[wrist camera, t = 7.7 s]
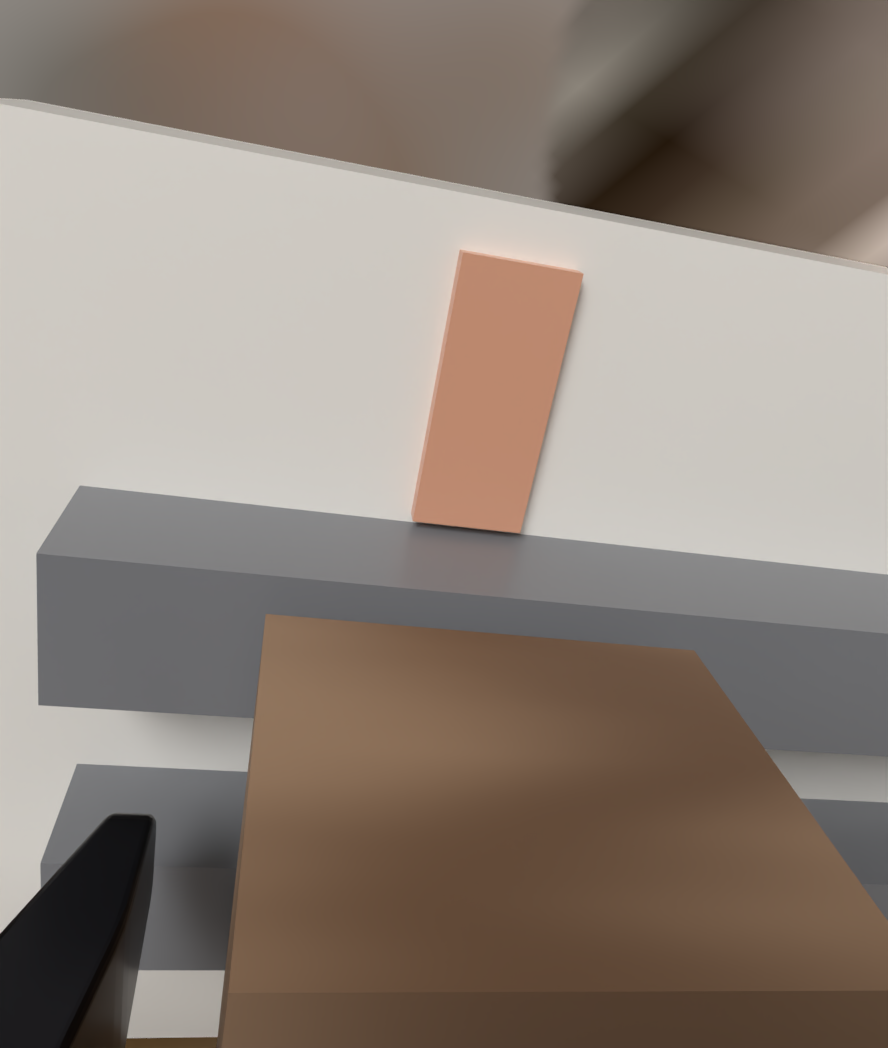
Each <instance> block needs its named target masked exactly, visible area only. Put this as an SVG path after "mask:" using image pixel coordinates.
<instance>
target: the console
mask: <svg viewBox="0 0 888 1048" xmlns="http://www.w3.org/2000/svg"><path fill="white" fill-rule="evenodd" d="M266 614H273V615H284V616H296V617H308V618H320V619H331V620H343V621H355V622H367V623H378V624H390V625H402V626H414V627H425V628H437V629H449V630H461V631H472V632H484V633H496V634H508V635H519V636H531V637H543V638H555V639H566V640H578V641H590V642H602V643H613V644H625V645H637V646H649V647H660V648H672V649H684V650H694V651H695V652H696V654H697V655H698V656H699V658H700V659H701V661H702V662H703V663H704V665H705V666H706V668H707V669H708V670H709V672H710V673H711V675H712V676H713V677H714V679H715V680H716V682H717V683H718V684H719V686H720V687H721V689H722V690H723V691H724V693H725V694H726V696H727V697H728V698H729V700H730V701H731V703H732V704H733V705H734V707H735V708H736V710H737V711H738V712H739V714H740V715H741V717H742V718H743V719H744V721H745V722H746V724H747V725H748V726H749V728H750V729H751V731H752V732H753V733H754V735H755V736H756V738H757V739H758V740H759V742H760V743H761V744H762V746H763V747H764V749H765V750H766V751H767V753H768V754H769V756H770V757H771V758H772V760H773V761H774V763H775V764H776V765H777V767H778V768H779V770H780V771H781V772H782V774H783V775H784V777H785V778H786V779H787V781H788V782H789V784H790V785H791V786H792V788H793V789H794V791H795V792H796V793H797V795H798V796H799V798H800V799H801V800H802V802H803V803H804V805H805V806H806V807H807V809H808V810H809V812H810V813H811V814H812V816H813V817H814V819H815V820H816V821H817V823H818V824H819V826H820V827H821V828H822V830H823V831H824V833H825V834H826V835H827V837H828V838H829V840H830V841H831V842H832V844H833V845H834V847H835V848H836V849H837V851H838V852H839V854H840V855H841V856H842V858H843V859H844V861H845V862H846V863H847V865H848V866H849V868H850V869H851V870H852V872H853V873H854V875H855V876H856V877H857V879H858V880H859V882H860V883H861V884H862V886H863V887H864V889H865V890H866V891H867V893H868V894H869V896H870V897H871V898H872V900H873V901H874V903H875V904H876V905H877V907H878V908H879V910H880V911H881V912H882V914H883V915H884V917H885V918H886V919H887V921H888V267H884V266H879V265H874V264H868V263H863V262H858V261H853V260H848V259H843V258H838V257H832V256H827V255H822V254H817V253H812V252H807V251H802V250H797V249H791V248H786V247H781V246H776V245H771V244H766V243H761V242H755V241H750V240H745V239H740V238H735V237H730V236H725V235H720V234H714V233H709V232H704V231H699V230H694V229H689V228H684V227H678V226H673V225H668V224H663V223H658V222H653V221H648V220H642V219H637V218H632V217H627V216H622V215H617V214H612V213H607V212H601V211H596V210H591V209H586V208H581V207H576V206H571V205H565V204H560V203H555V202H550V201H545V200H540V199H535V198H530V197H524V196H519V195H514V194H509V193H504V192H499V191H494V190H488V189H483V188H477V187H473V186H468V185H463V184H458V183H452V182H447V181H442V180H437V179H431V178H427V177H422V176H417V175H411V174H406V173H401V172H396V171H391V170H386V169H380V168H375V167H370V166H365V165H360V164H355V163H350V162H345V161H339V160H334V159H329V158H324V157H319V156H314V155H309V154H303V153H298V152H293V151H288V150H283V149H278V148H272V147H268V146H262V145H257V144H252V143H247V142H241V141H237V140H232V139H227V138H221V137H216V136H211V135H206V134H201V133H196V132H190V131H185V130H180V129H175V128H170V127H165V126H160V125H154V124H150V123H144V122H139V121H134V120H129V119H124V118H119V117H114V116H108V115H103V114H98V113H93V112H87V111H83V110H78V109H72V108H67V107H62V106H57V105H52V104H46V103H41V102H37V101H31V100H22V99H7V98H0V933H1V932H2V931H3V930H4V929H5V928H6V927H7V926H8V924H9V923H10V922H11V921H12V920H13V919H14V918H15V917H16V916H17V914H18V913H19V912H20V911H21V910H22V909H23V908H24V907H25V906H26V905H27V903H28V902H29V901H30V900H31V899H32V898H33V897H34V896H35V895H36V894H37V892H38V891H39V890H40V889H41V888H42V887H43V886H44V885H45V884H46V882H47V881H48V880H49V879H50V878H51V877H52V876H53V875H54V874H55V873H56V871H57V870H58V869H59V868H60V867H61V866H62V865H63V864H64V863H65V861H66V860H67V859H68V858H69V857H70V856H71V855H72V854H73V853H74V852H75V850H76V849H77V848H78V847H79V846H80V845H81V844H82V843H83V842H84V841H85V839H86V838H87V837H88V836H89V835H90V834H91V833H92V832H93V831H94V829H95V828H96V827H97V826H98V825H99V824H100V823H101V822H102V821H103V820H104V819H105V818H106V817H107V816H108V815H110V814H112V813H141V814H151V815H152V816H154V818H155V820H156V841H155V858H154V874H153V887H152V895H151V901H150V908H149V913H148V919H147V925H146V930H145V936H144V942H143V948H142V953H141V959H140V965H139V970H138V976H137V982H136V988H135V993H134V999H133V1005H132V1010H131V1016H130V1022H129V1028H128V1033H127V1038H182V1037H218V1029H219V1019H220V1010H221V1001H222V992H223V983H224V974H225V965H226V957H227V948H228V939H229V930H230V922H231V913H232V904H233V895H234V887H235V878H236V869H237V860H238V852H239V843H240V834H241V825H242V817H243V808H244V799H245V790H246V782H247V773H248V764H249V755H250V747H251V738H252V729H253V720H254V712H255V703H256V694H257V685H258V677H259V668H260V659H261V650H262V642H263V633H264V624H265V615H266Z"/></svg>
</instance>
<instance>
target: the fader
mask: <svg viewBox="0 0 888 1048" xmlns="http://www.w3.org/2000/svg"><path fill="white" fill-rule="evenodd" d="M217 1048H888V921H887V919H886V918H885V917H884V915H883V914H882V912H881V911H880V910H879V908H878V907H877V905H876V904H875V903H874V901H873V900H872V898H871V897H870V896H869V894H868V893H867V891H866V890H865V889H864V887H863V886H862V884H861V883H860V882H859V880H858V879H857V877H856V876H855V875H854V873H853V872H852V870H851V869H850V868H849V866H848V865H847V863H846V862H845V861H844V859H843V858H842V856H841V855H840V854H839V852H838V851H837V849H836V848H835V847H834V845H833V844H832V842H831V841H830V840H829V838H828V837H827V835H826V834H825V833H824V831H823V830H822V828H821V827H820V826H819V824H818V823H817V821H816V820H815V819H814V817H813V816H812V814H811V813H810V812H809V810H808V809H807V807H806V806H805V805H804V803H803V802H802V800H801V799H800V798H799V796H798V795H797V793H796V792H795V791H794V789H793V788H792V786H791V785H790V784H789V782H788V781H787V779H786V778H785V777H784V775H783V774H782V772H781V771H780V770H779V768H778V767H777V765H776V764H775V763H774V761H773V760H772V758H771V757H770V756H769V754H768V753H767V751H766V750H765V749H764V747H763V746H762V744H761V743H760V742H759V740H758V739H757V738H756V736H755V735H754V733H753V732H752V731H751V729H750V728H749V726H748V725H747V724H746V722H745V721H744V719H743V718H742V717H741V715H740V714H739V712H738V711H737V710H736V708H735V707H734V705H733V704H732V703H731V701H730V700H729V698H728V697H727V696H726V694H725V693H724V691H723V690H722V689H721V687H720V686H719V684H718V683H717V682H716V680H715V679H714V677H713V676H712V675H711V673H710V672H709V670H708V669H707V668H706V666H705V665H704V663H703V662H702V661H701V659H700V658H699V656H698V655H697V654H696V652H695V651H694V650H684V649H672V648H660V647H649V646H637V645H625V644H613V643H602V642H590V641H578V640H566V639H555V638H543V637H531V636H519V635H508V634H496V633H484V632H472V631H461V630H449V629H437V628H425V627H414V626H402V625H390V624H378V623H367V622H355V621H343V620H331V619H320V618H308V617H296V616H284V615H273V614H266V615H265V624H264V633H263V642H262V650H261V659H260V668H259V677H258V685H257V694H256V703H255V712H254V720H253V729H252V738H251V747H250V755H249V764H248V773H247V782H246V790H245V799H244V808H243V817H242V825H241V834H240V843H239V852H238V860H237V869H236V878H235V887H234V895H233V904H232V913H231V922H230V930H229V939H228V948H227V957H226V965H225V974H224V983H223V992H222V1001H221V1010H220V1019H219V1029H218V1038H217Z"/></svg>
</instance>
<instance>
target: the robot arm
mask: <svg viewBox="0 0 888 1048" xmlns="http://www.w3.org/2000/svg"><path fill="white" fill-rule="evenodd" d="M155 841H156V820H155V818H154V816H152V815H151V814H141V813H112V814H110V815H108V816H107V817H106V818H105V819H104V820H103V821H102V822H101V823H100V824H99V825H98V826H97V827H96V828H95V829H94V831H93V832H92V833H91V834H90V835H89V836H88V837H87V838H86V839H85V841H84V842H83V843H82V844H81V845H80V846H79V847H78V848H77V849H76V850H75V852H74V853H73V854H72V855H71V856H70V857H69V858H68V859H67V860H66V861H65V863H64V864H63V865H62V866H61V867H60V868H59V869H58V870H57V871H56V873H55V874H54V875H53V876H52V877H51V878H50V879H49V880H48V881H47V882H46V884H45V885H44V886H43V887H42V888H41V889H40V890H39V891H38V892H37V894H36V895H35V896H34V897H33V898H32V899H31V900H30V901H29V902H28V903H27V905H26V906H25V907H24V908H23V909H22V910H21V911H20V912H19V913H18V914H17V916H16V917H15V918H14V919H13V920H12V921H11V922H10V923H9V924H8V926H7V927H6V928H5V929H4V930H3V931H2V932H1V933H0V1048H125V1045H126V1039H127V1033H128V1028H129V1022H130V1016H131V1010H132V1005H133V999H134V993H135V988H136V982H137V976H138V970H139V965H140V959H141V953H142V948H143V942H144V936H145V930H146V925H147V919H148V913H149V908H150V901H151V895H152V887H153V874H154V858H155Z"/></svg>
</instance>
